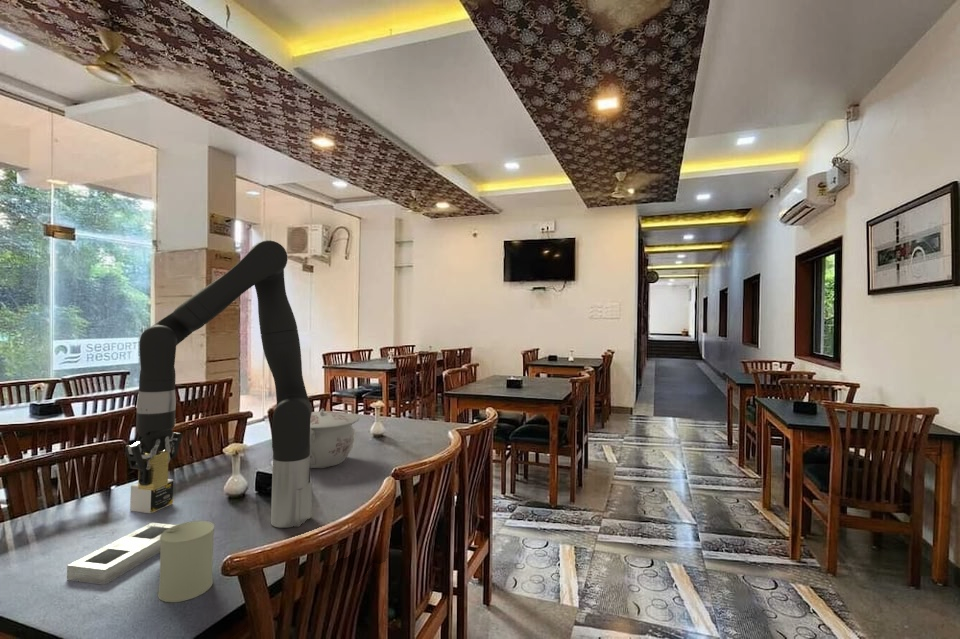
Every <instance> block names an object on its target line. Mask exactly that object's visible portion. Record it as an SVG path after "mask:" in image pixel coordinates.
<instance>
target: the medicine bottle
mask: <svg viewBox="0 0 960 639" xmlns="http://www.w3.org/2000/svg"><path fill="white" fill-rule="evenodd" d="M172 504H174V479H171V478H168V484H167V485H165V486H163V487H160V488H158V489H156V490H143V489H138V482H137V483H134V484H132V485H131V486H130V503H129V510H130V511H131V512H137V513H142V514H143V513H144V514H153V513H155V512H158V511H159V510H162V509H164V508H166V507H168V506H171V505H172Z"/></svg>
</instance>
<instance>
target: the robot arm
mask: <svg viewBox="0 0 960 639" xmlns="http://www.w3.org/2000/svg"><path fill="white" fill-rule="evenodd" d="M287 265H288V253H287V250H286V249H285V247H284V246H283V245H282V244H281V243H279V242H277V241H275V240H267V239H266V240H262V241H258V242H257V243H256V244H254V245H253V246H252V247H251V248H250V250H249V251H248V252H247V253H246V255H244V257H243V258H241V259H240V260H239V262H237V263H236V264H235V265H234V266H233V267H231V269H229V270H228V271H226V273H224V274H222V275H221V276H220V277H218V278H217V279H216V280H214V281H212V282H211V283H210V284H208V285H207V286H205V287H204V288H202V289H200V290H199V291H198V292H196V293H195V294H194V295H192V296H191V297H189V298H188V299H186V300H185V301H184V302H183V303H181V304H180V305H179V306H178V307H177V308H175V309H174V310H173V312H171V313H169V314H168V315H166V316H165V317H163V318H162V319H160V320H159V321H158V322H156V323H155V324H153V325H151V326H149V327H148V328H146V329H145V330H144V331H142V333H141V335H140V339H139V361H140V362H139V363H140V371H139V377H138V378H139V380H138V395H137V398H136V399H137V401H136V417H135V418H136V421H135V422H136V423H135V429H136V431H137V433H138V437H137V439H136V442H134V443H133V444H131V445H130V444H128V445H127V444H126V445H125V447H124V451H125V455H126V458H127V460H128V464H129V467H130V469H132V470H133V469H134V470H138V478H139V484H140V485H143V486H148V485H150V483H151V469H150V468H151V465H152V459H153V458H154V456H155V455H156V453H157V452H158V451H165V452H167V451H169V459H168V464H169V463H171V462H170V461H171V460H172V459H175V458H176V457H177V455H178V451H179V449H180V448H179V447H180V445H181V441H182V438H183V433H182V432H173V428H175V426H176V408H177V406H176V404H177V403H176V402H177V398H176V397H177V395H176V368H175V363H176V355H177V354H176V352H177V346H178V345H179V344H180V343H182V341H183V342H184V340H185V339H186V338H188V337H189V336H190V335H192V333H194V332H195V331H198V330H199V329H201V328H202V327H204V326H205V325H207V324H208V323H209V322H210V321H212V320H213V319H214V318H216V317H217V316H218V315H220V314H221V313H222V312H223V311H224V310H225V309H227V308H228V307H229V306H230V305H232V304H233V303H234V301H236V300H237V299H238V298H239V297H241V295H243V294H244V293H245V292H246V291H248V290H249V289H250V288H252V287H253V286H254V288H255V292H256V298H257V313H258V324H259V329H260V339H261V344H262V349H263V353H264V356H265V359H266V361H267V364H268V365H267V366H268V368H269V370H270V372H271V374H272V375H271V376H272V378H273V380H274V385H275V386H274V387H275V394H276V395H275V397H276V406H275V409H274V411H273V414H272V424H271V425H272V430H271V432H272V433H271V434H272V436H271V437H272V438H271V440H272V441H271V449H272V470H271V471H272V472H271V473H272V475H271V477H272V478H271V504H270V505H271V507H270V509H271V512H270V523H271V526H272V527H275V528H280V529H283V528H286V529H287V528H293V526H294V527H301V526H302V525H303V524H305V523H306V522H307V521H308V520H309V519H310V518H311V517H312V503H313V502H312V501H313V500H312V497H313V482H311V481H310V468H309V466H310V418H311V412H313V410H312V406H311V402H310V399H309V397H308V396H309V395H308V393H307V389H306V386H305V385H306V384H305V383H304V382H305V381H304V376H303V366H302V362H303V361H302V354H301V353H302V352H301V342H300V341H301V340H300V337H299V332H298V331H299V330H298V325H297V320H296V318H295V315H294V312H293V309H292V306H291V304H290V301H289V299H288V296H287V292H286V283H285V282H286V281H285V268H286V266H287ZM145 453H147V454H150V455H145ZM144 459H147V461H146V464H144ZM307 519H308V520H307ZM306 520H307V521H306ZM305 521H306V522H305ZM302 523H303V524H302ZM301 524H302V525H301ZM300 525H301V526H300Z"/></svg>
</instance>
